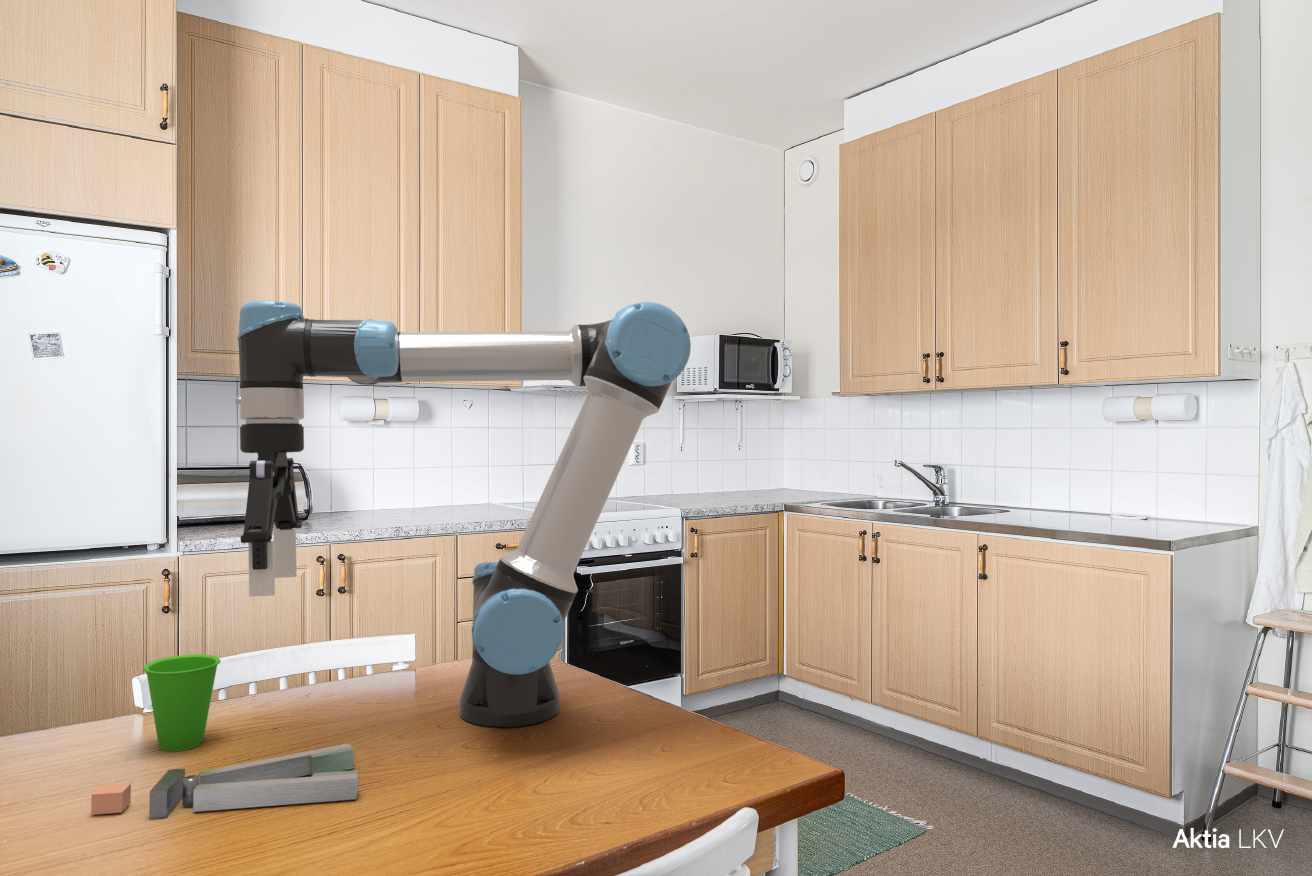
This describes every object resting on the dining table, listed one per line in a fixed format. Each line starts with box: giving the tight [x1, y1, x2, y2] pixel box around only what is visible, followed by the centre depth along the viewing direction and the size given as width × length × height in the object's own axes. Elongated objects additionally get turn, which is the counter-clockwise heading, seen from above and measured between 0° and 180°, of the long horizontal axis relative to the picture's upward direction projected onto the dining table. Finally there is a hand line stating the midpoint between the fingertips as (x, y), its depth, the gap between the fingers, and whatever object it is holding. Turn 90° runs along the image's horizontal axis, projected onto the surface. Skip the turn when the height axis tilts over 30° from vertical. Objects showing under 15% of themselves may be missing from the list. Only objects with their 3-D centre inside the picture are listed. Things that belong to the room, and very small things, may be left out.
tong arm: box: [197, 743, 355, 785], centre depth 100 cm, size 17×2×2 cm, turn 125°
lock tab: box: [90, 783, 132, 816], centre depth 92 cm, size 3×2×2 cm
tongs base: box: [148, 768, 360, 820], centre depth 95 cm, size 21×6×3 cm, turn 103°
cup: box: [143, 653, 221, 752], centre depth 111 cm, size 9×9×11 cm
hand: (274, 586), depth 107 cm, fingers open, 13 cm apart
